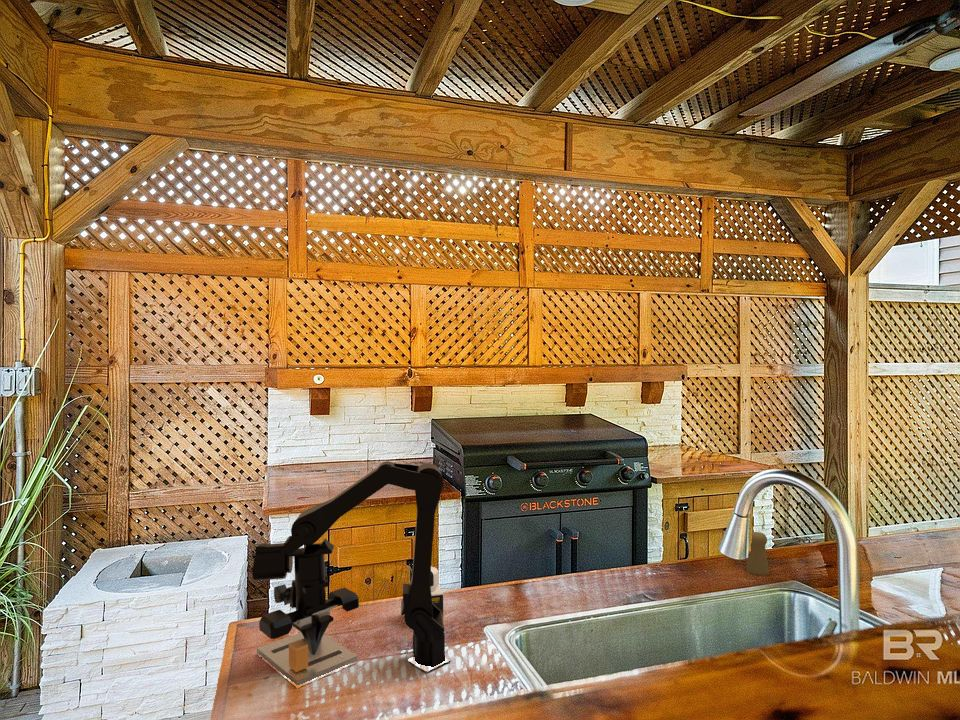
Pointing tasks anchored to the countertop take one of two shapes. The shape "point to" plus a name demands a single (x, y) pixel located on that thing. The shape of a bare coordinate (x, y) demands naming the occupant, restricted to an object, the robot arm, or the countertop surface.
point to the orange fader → (298, 655)
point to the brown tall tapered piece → (758, 555)
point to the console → (319, 664)
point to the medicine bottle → (436, 590)
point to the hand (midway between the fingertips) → (312, 654)
